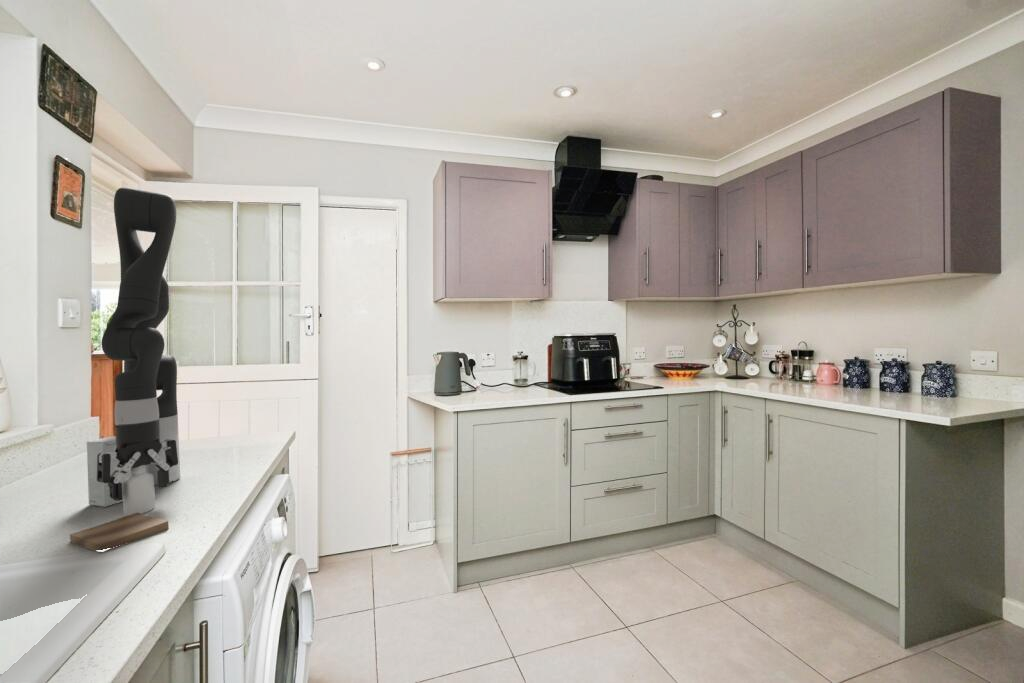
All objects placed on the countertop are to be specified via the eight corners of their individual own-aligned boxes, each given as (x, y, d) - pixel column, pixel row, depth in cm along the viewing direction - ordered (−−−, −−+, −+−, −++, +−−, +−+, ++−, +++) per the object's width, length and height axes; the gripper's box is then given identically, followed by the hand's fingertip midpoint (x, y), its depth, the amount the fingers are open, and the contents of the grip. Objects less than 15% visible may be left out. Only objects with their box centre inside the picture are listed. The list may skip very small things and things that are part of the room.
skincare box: (105, 508, 104) (102, 442, 104) (87, 505, 106) (83, 440, 106) (144, 494, 112) (141, 433, 112) (127, 492, 114) (124, 432, 114)
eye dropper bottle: (121, 513, 101) (118, 458, 100) (153, 505, 105) (151, 453, 105) (125, 518, 98) (122, 462, 98) (158, 510, 102) (155, 456, 102)
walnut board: (70, 542, 87) (69, 534, 87) (138, 519, 97) (137, 512, 97) (100, 553, 83) (100, 544, 83) (168, 528, 92) (168, 521, 92)
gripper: (163, 413, 109) (166, 481, 109) (87, 424, 96) (91, 502, 96) (182, 414, 106) (185, 485, 106) (107, 427, 93) (110, 507, 93)
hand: (140, 493), depth 101 cm, fingers open, 8 cm apart
